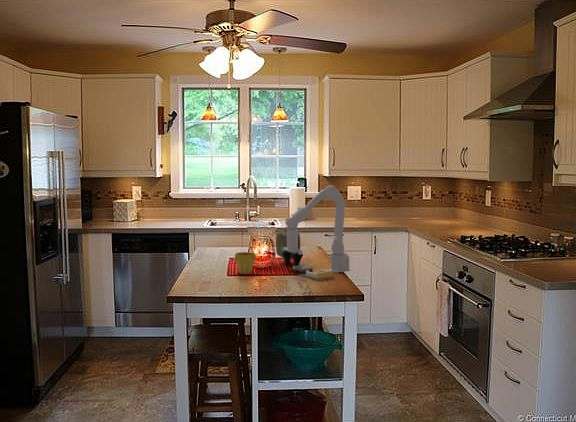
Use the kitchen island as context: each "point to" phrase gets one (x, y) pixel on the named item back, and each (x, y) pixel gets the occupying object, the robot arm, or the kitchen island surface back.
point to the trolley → (302, 268)
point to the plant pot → (245, 262)
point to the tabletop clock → (283, 242)
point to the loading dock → (318, 275)
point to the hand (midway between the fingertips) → (292, 266)
